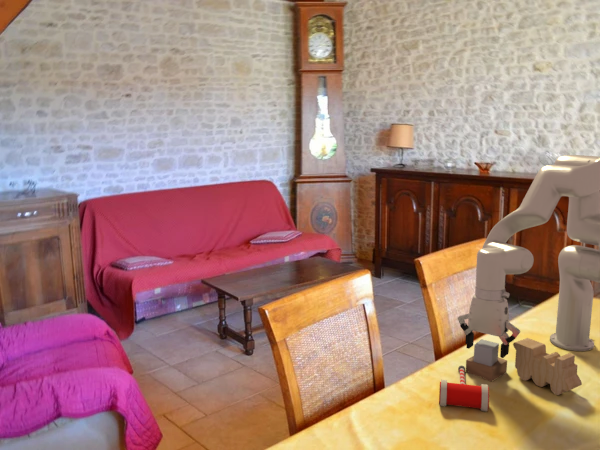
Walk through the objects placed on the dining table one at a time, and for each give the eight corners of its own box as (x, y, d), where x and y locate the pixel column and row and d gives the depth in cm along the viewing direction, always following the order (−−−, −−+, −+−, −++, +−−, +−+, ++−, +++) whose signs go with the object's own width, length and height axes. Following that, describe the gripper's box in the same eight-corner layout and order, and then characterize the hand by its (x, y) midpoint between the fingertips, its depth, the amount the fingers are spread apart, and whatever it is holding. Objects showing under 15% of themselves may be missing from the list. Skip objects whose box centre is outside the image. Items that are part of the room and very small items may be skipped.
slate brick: (480, 355, 155) (481, 339, 154) (497, 360, 152) (498, 343, 151) (473, 361, 152) (474, 344, 151) (491, 366, 148) (492, 349, 147)
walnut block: (480, 364, 159) (481, 351, 158) (506, 373, 153) (507, 360, 152) (465, 372, 154) (466, 359, 153) (491, 382, 148) (492, 369, 147)
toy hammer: (440, 369, 156) (440, 349, 155) (482, 374, 153) (484, 353, 151) (438, 410, 134) (439, 386, 133) (488, 416, 131) (489, 392, 130)
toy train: (568, 400, 137) (571, 363, 136) (510, 374, 152) (513, 341, 150) (580, 394, 140) (584, 358, 138) (523, 369, 155) (525, 336, 153)
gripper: (526, 296, 145) (522, 355, 148) (465, 284, 156) (462, 339, 160) (516, 303, 140) (512, 365, 143) (453, 290, 151) (451, 347, 154)
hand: (486, 351), depth 151 cm, fingers open, 9 cm apart
